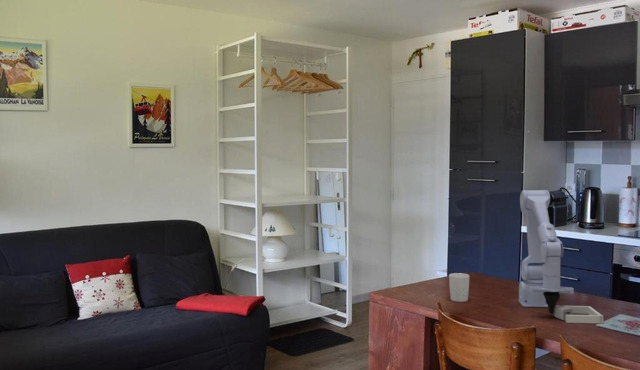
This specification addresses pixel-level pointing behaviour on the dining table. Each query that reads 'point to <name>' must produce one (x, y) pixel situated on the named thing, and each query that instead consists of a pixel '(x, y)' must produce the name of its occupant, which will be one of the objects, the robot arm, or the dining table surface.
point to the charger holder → (591, 318)
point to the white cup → (459, 287)
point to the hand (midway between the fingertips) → (551, 313)
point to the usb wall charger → (562, 312)
